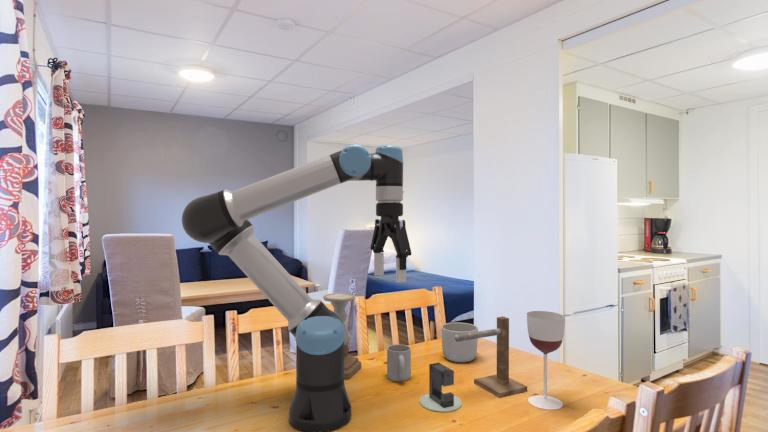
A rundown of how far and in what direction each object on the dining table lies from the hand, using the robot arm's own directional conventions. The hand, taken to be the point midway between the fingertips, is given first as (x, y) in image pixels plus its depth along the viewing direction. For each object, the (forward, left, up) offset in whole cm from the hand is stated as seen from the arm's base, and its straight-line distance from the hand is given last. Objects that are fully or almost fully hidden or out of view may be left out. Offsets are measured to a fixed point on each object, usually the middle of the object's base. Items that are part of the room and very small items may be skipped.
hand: (389, 278), depth 121 cm
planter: (+34, +14, -32) cm, 49 cm away
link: (+9, -12, -31) cm, 35 cm away
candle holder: (-7, +21, -32) cm, 39 cm away
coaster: (+9, -12, -32) cm, 35 cm away
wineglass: (+34, -24, -32) cm, 52 cm away
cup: (+7, +7, -32) cm, 33 cm away
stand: (+25, -11, -32) cm, 42 cm away
